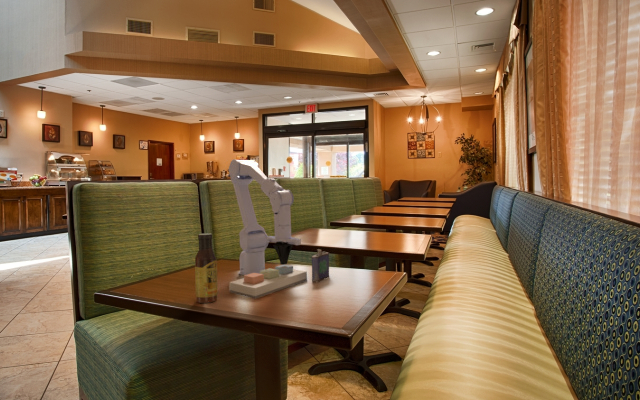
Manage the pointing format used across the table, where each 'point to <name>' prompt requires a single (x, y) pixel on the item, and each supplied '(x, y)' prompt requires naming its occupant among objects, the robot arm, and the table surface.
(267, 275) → the sage key
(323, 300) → the table surface
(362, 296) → the table surface
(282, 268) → the slate key
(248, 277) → the terracotta key
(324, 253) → the flask
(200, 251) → the sauce bottle
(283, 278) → the keypad base
